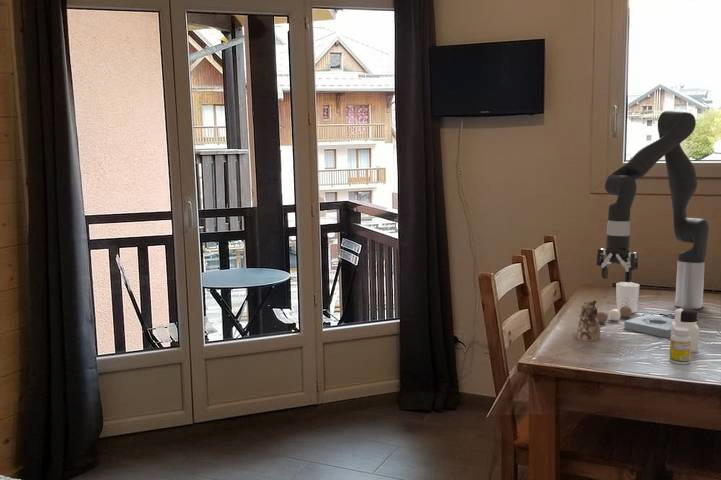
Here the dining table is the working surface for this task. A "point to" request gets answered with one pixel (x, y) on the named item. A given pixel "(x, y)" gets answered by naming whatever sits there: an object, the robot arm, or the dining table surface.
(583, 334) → the figurine
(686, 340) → the supplement bottle
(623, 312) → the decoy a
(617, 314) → the ball
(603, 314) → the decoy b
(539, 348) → the dining table surface
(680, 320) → the medicine bottle
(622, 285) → the white cup
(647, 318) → the blue-grey square plate
